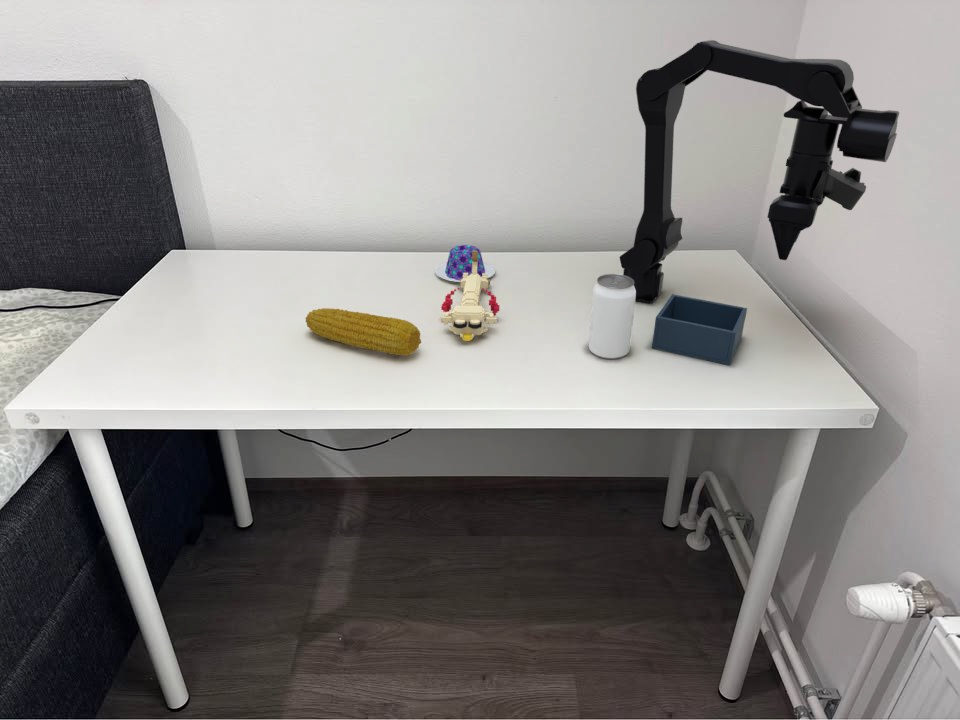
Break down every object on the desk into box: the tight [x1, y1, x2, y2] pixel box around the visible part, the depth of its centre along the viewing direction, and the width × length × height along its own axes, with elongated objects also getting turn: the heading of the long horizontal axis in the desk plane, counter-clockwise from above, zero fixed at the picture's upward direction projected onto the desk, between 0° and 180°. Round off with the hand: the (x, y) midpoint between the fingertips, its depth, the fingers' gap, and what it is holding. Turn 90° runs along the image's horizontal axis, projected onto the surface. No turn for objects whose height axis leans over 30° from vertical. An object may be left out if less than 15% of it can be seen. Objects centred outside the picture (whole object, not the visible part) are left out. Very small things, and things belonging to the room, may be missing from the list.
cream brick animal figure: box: [440, 251, 501, 342], centre depth 123 cm, size 10×9×25 cm
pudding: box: [434, 244, 496, 283], centre depth 140 cm, size 12×12×5 cm
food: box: [305, 307, 422, 357], centre depth 113 cm, size 21×6×6 cm, turn 65°
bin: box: [651, 293, 748, 366], centre depth 114 cm, size 12×10×6 cm
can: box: [588, 273, 636, 360], centre depth 110 cm, size 6×6×12 cm
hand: (787, 250), depth 113 cm, fingers open, 9 cm apart
